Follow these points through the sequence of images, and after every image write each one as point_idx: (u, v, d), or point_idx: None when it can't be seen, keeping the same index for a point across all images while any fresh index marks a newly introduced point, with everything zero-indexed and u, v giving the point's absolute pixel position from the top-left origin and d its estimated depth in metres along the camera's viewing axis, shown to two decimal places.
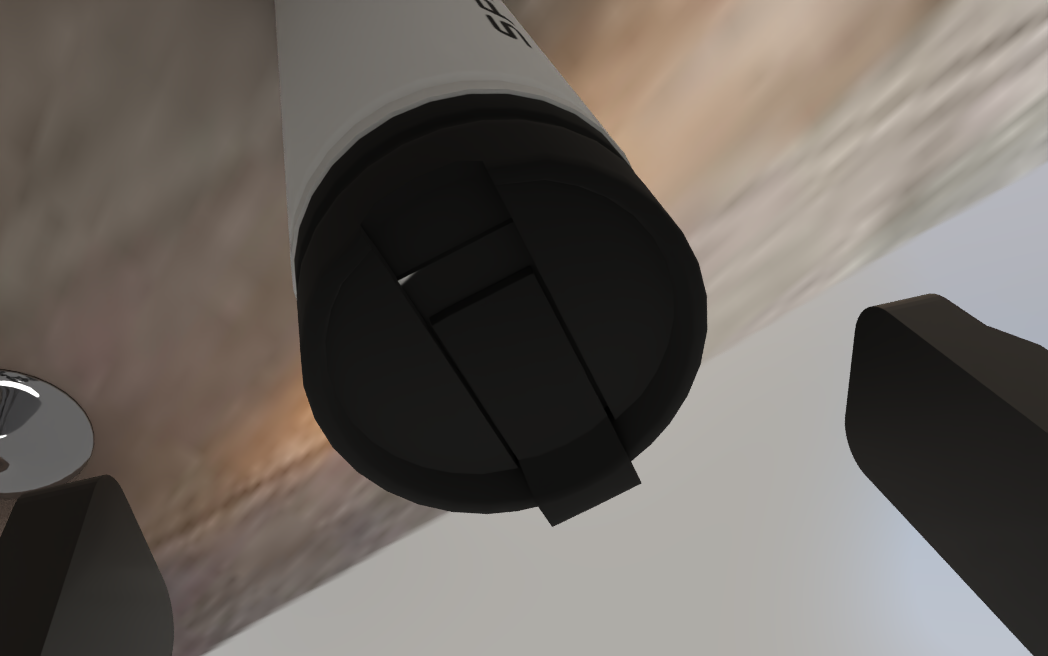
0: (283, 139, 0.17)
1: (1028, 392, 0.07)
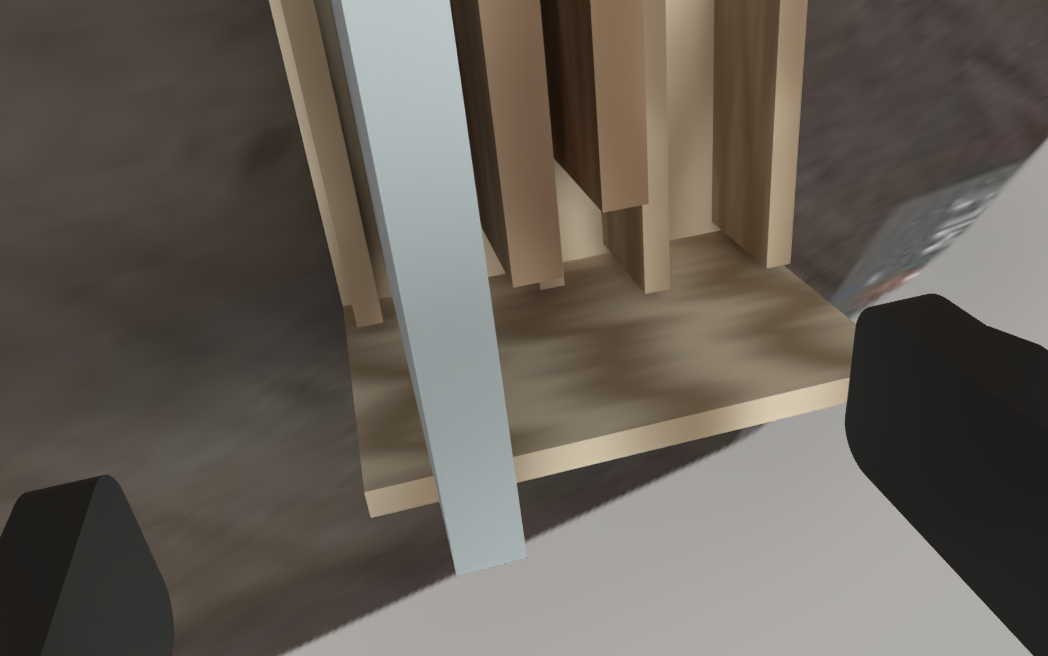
0: None
1: (1028, 392, 0.07)
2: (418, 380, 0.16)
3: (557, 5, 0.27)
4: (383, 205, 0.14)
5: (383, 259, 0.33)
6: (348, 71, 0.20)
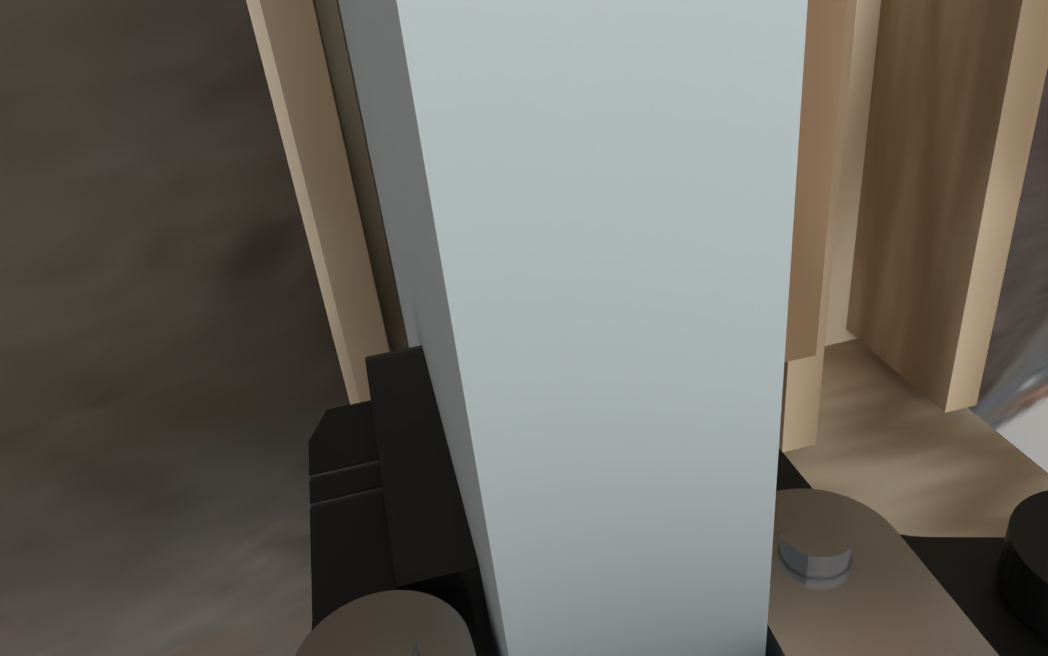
0: None
1: None
2: None
3: None
4: None
5: None
6: (391, 222, 0.11)
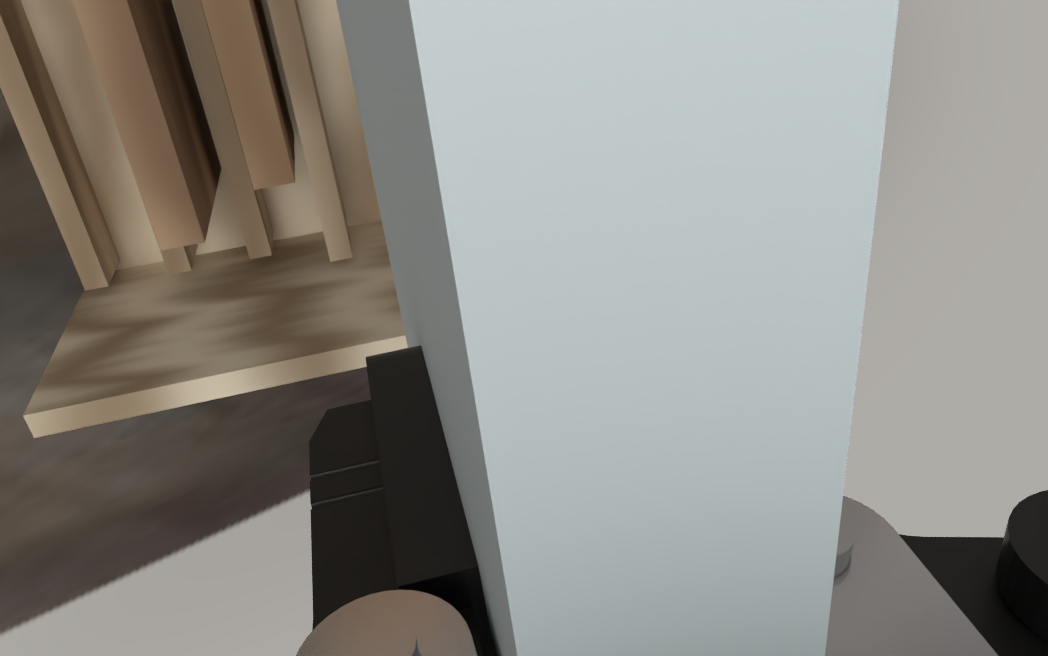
0: None
1: None
2: None
3: None
4: None
5: None
6: (395, 242, 0.11)
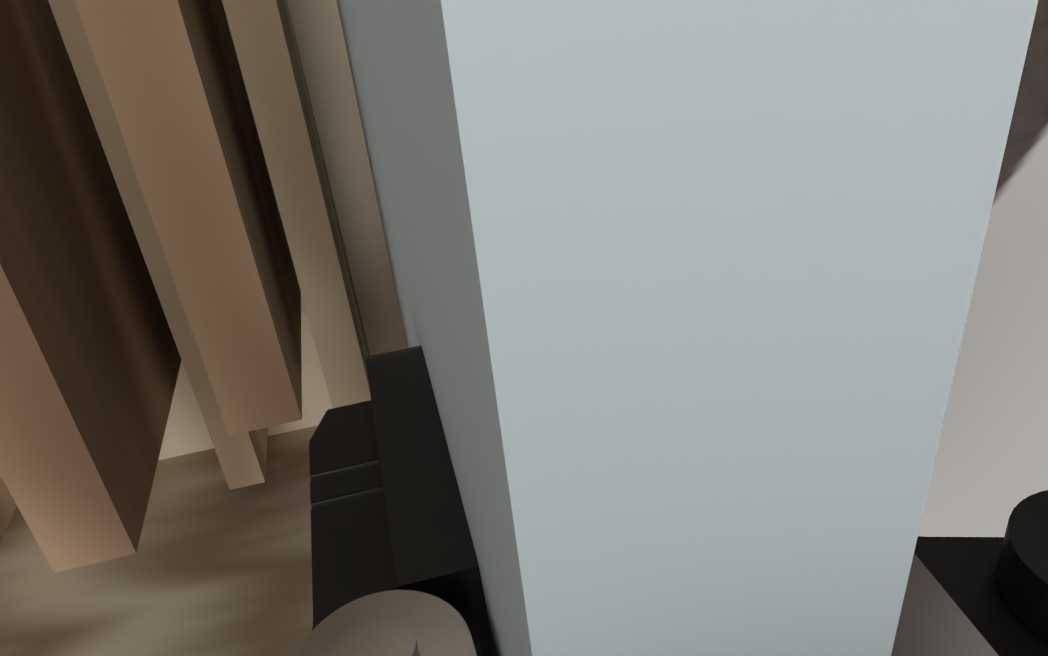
0: None
1: None
2: None
3: None
4: None
5: None
6: (395, 233, 0.10)
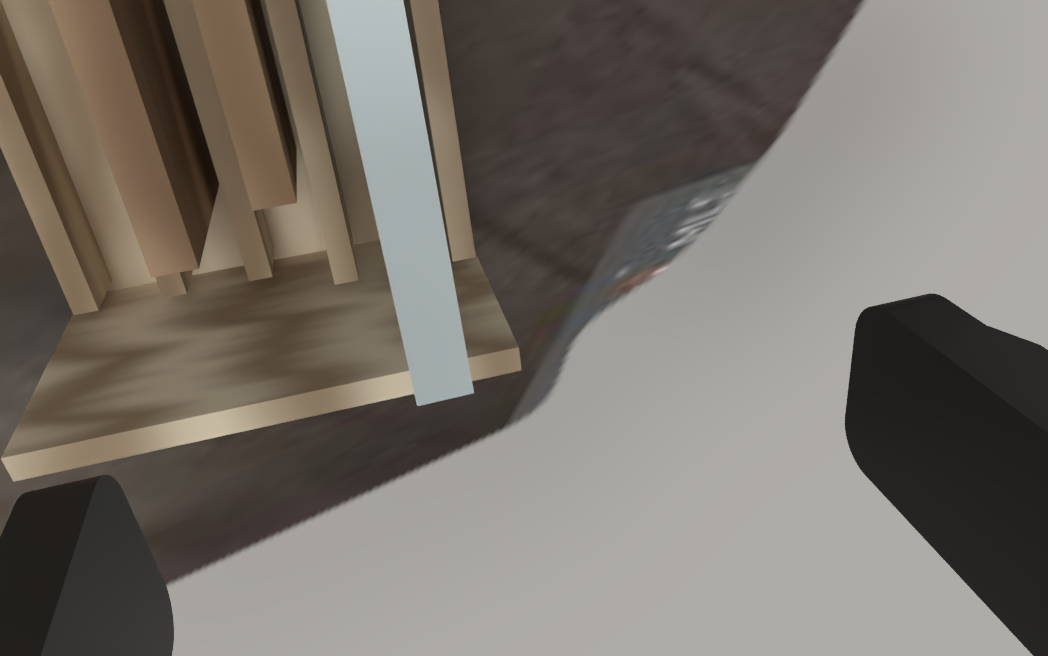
0: None
1: (1028, 392, 0.07)
2: (379, 233, 0.20)
3: None
4: (346, 87, 0.18)
5: None
6: None
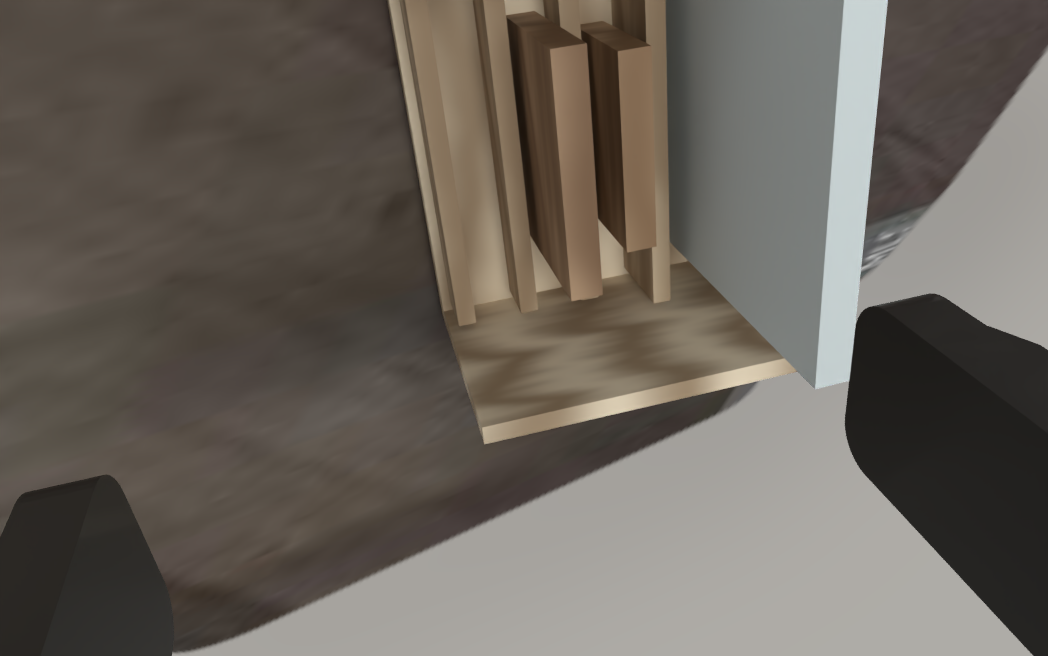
0: None
1: (1028, 392, 0.07)
2: (823, 279, 0.32)
3: (597, 118, 0.43)
4: (830, 193, 0.31)
5: None
6: (737, 122, 0.37)
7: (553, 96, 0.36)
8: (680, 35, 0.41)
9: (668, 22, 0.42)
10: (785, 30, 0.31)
